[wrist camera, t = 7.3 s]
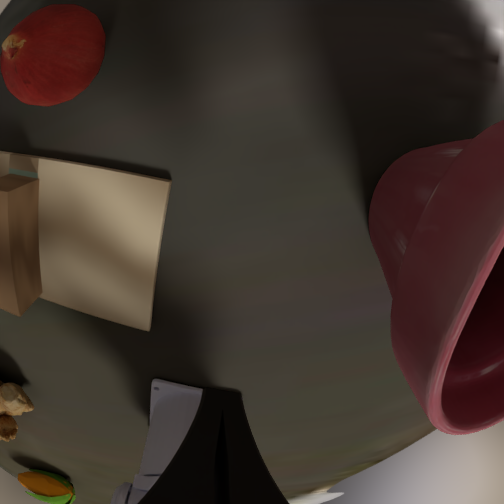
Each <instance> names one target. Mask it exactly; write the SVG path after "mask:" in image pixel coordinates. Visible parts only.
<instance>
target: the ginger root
mask: <svg viewBox="0 0 504 504" xmlns="http://www.w3.org/2000/svg"><path fill="white" fill-rule="evenodd" d="M33 409H34V406H33V404H32V402H31V400H30V399H29V397H28V396H27V395H26V394H25V392H24V391H23V389H22V388H21V387H20V386H19V385H17V384H14V383H3V382H2V381H1V380H0V440H4V441H7V442H9V440H10V438H11V439H15V438H16V433H17V429H16V428H18V425H17V423H16V421H15V420H14V418H12V417H11V416H12V415H22V412H28V411H31V410H33Z"/></svg>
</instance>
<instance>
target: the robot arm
mask: <svg viewBox="0 0 504 504" xmlns="http://www.w3.org/2000/svg"><path fill="white" fill-rule="evenodd" d="M111 504H289V503H288V501H287V500H286V499H285V497H284V496H283V494H282V493H281V491H280V490H279V488H278V486H277V485H276V483H275V481H274V480H273V478H272V476H271V475H270V473H269V471H268V469H267V467H266V465H265V463H264V461H263V459H262V457H261V455H260V452H259V450H258V448H257V445H256V443H255V440H254V437H253V435H252V432H251V429H250V426H249V423H248V420H247V417H246V413H245V410H244V405H243V398H242V395H241V394H240V393H236V392H229V391H223V390H217V389H211V388H204V389H201V388H196V387H191V386H186V385H182V384H177V383H173V382H169V381H165V380H160V379H153V381H152V385H151V403H150V427H149V431H148V435H147V439H146V444H145V448H144V452H143V457H142V461H141V466H140V470H139V475H138V474H135V477H134V482H133V485H132V483H128V482H124V483H123V484H122V485H120V486H118V487H117V488H116V489H115V491H114V494H113V497H112V500H111Z"/></svg>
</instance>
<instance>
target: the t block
mask: <svg viewBox="0 0 504 504" xmlns="http://www.w3.org/2000/svg"><path fill="white" fill-rule="evenodd" d="M38 204H39V179H38V178H32V177H27V176H22V175H16V174H11V173H10V174H7V175H5V176H2V177H0V308H1V309H3V310H5V311H7V312H10V313H12V314H14V315H16V316H19V317H21V316H22V314H23V313H24V312H25V311H26V310H27V309H28V308H29V307H30V305H31V304H32V303H33V302H34V301H35V300H36V299H37V298H38V297H39V296H40V295H41V294H42V293H43V291H42V281H41V270H40V256H39V230H38Z"/></svg>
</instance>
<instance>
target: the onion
mask: <svg viewBox="0 0 504 504" xmlns="http://www.w3.org/2000/svg"><path fill="white" fill-rule="evenodd" d="M105 38H106V35H105V32H104V30H103V27H102V25H101V22H100V20H99V19H98V17H97V16H96V15H95V14H94V13H92V12H90V11H89V10H87V9H85V8H84V7H81V6H79V5H76V4H52V5H49V6H46V7H44V8H42V9H39V10H37V11H35V12H33V13H31V14H30V15H28V16H27V17H26V18H25V19H23V20H22V21H21V22H20V23H19V24H17V25H16V26H15V27H14V28H13V29H12V31H11V32H10V34H9V36H8V37H7V38H6V40H5V41H4V42H3V44H2V53H1V57H0V63H1V73H2V75H3V78H4V81H5V84H6V86H7V88H8V90H9V91H10V92H11V93H12V94H13V95H14V96H15V97H16V98H18V99H19V100H20V101H21V102H23V103H26V104H29V105H40V106H52V105H56V104H59V103H62V102H65V101H68V100H72V99H73V98H74V97H75V96H77V95H78V94H79V93H81V92H82V91H83V90H84V89H86V88H87V87H88V86H89V84H90V83H91V82H92V80H93V79H94V78H95V76H96V75H97V74H98V72H99V70H100V67H101V64H102V61H103V58H104V52H105Z"/></svg>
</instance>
